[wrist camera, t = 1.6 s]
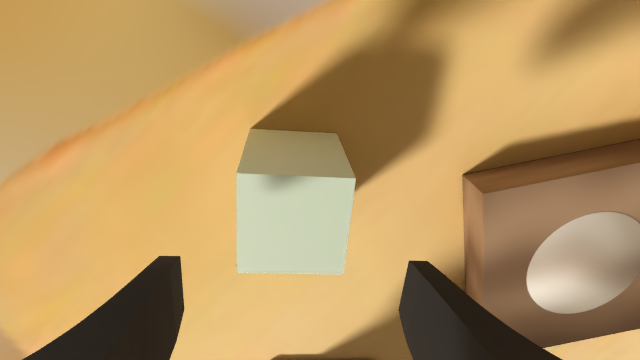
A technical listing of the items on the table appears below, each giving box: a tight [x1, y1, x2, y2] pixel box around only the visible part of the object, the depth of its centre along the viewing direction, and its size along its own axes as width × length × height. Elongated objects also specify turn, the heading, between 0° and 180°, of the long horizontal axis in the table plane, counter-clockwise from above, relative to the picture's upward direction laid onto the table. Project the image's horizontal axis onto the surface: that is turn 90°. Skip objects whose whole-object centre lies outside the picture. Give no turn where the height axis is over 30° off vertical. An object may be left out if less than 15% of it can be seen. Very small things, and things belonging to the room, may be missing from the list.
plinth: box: [463, 139, 640, 348], centre depth 23 cm, size 12×12×3 cm
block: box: [237, 129, 356, 274], centre depth 18 cm, size 4×4×6 cm
